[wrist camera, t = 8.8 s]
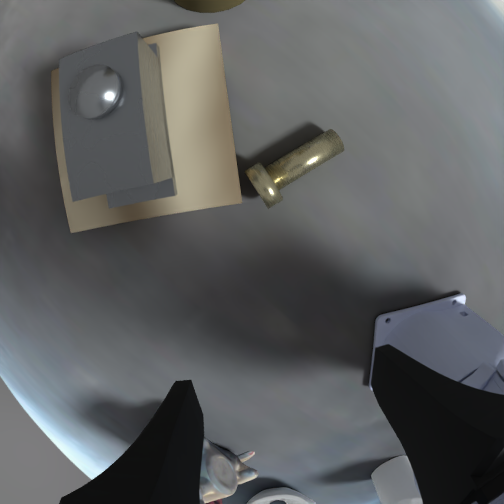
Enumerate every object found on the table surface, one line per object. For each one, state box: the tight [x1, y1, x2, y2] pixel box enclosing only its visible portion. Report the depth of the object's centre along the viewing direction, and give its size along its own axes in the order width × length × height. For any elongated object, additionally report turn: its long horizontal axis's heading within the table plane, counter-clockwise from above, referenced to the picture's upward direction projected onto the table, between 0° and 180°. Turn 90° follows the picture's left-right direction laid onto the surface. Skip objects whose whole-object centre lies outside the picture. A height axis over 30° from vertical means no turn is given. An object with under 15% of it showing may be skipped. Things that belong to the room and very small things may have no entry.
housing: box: [59, 32, 178, 209], centre depth 13 cm, size 9×4×5 cm, turn 7°
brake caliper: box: [199, 438, 259, 504], centre depth 22 cm, size 11×11×12 cm
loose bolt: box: [244, 129, 344, 209], centre depth 17 cm, size 6×3×3 cm, turn 122°
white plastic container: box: [371, 455, 423, 504], centre depth 25 cm, size 6×12×6 cm
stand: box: [51, 24, 242, 233], centre depth 16 cm, size 11×11×2 cm
